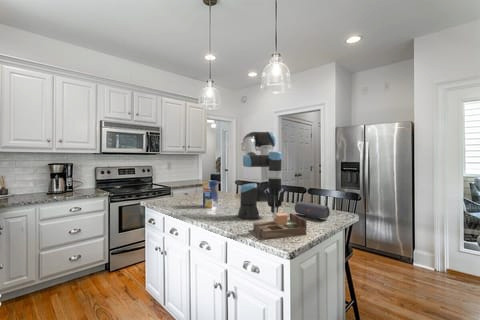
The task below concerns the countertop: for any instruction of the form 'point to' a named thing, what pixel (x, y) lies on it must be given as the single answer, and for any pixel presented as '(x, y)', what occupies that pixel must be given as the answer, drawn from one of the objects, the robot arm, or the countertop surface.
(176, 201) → the countertop surface
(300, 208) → the bluetooth speaker
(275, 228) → the box
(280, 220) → the block
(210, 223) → the countertop surface
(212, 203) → the beverage box
